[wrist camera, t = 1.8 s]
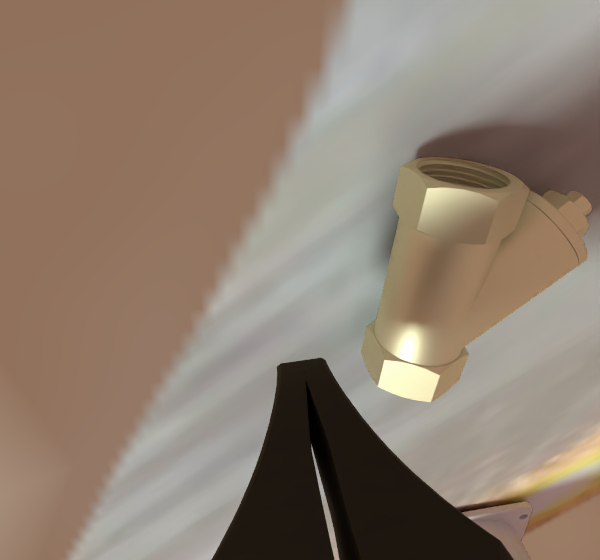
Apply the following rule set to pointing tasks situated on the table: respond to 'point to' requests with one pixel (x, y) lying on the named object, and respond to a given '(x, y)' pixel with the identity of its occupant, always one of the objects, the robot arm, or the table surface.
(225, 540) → the robot arm
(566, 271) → the pipe fitting
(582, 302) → the table surface
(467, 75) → the table surface
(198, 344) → the table surface
